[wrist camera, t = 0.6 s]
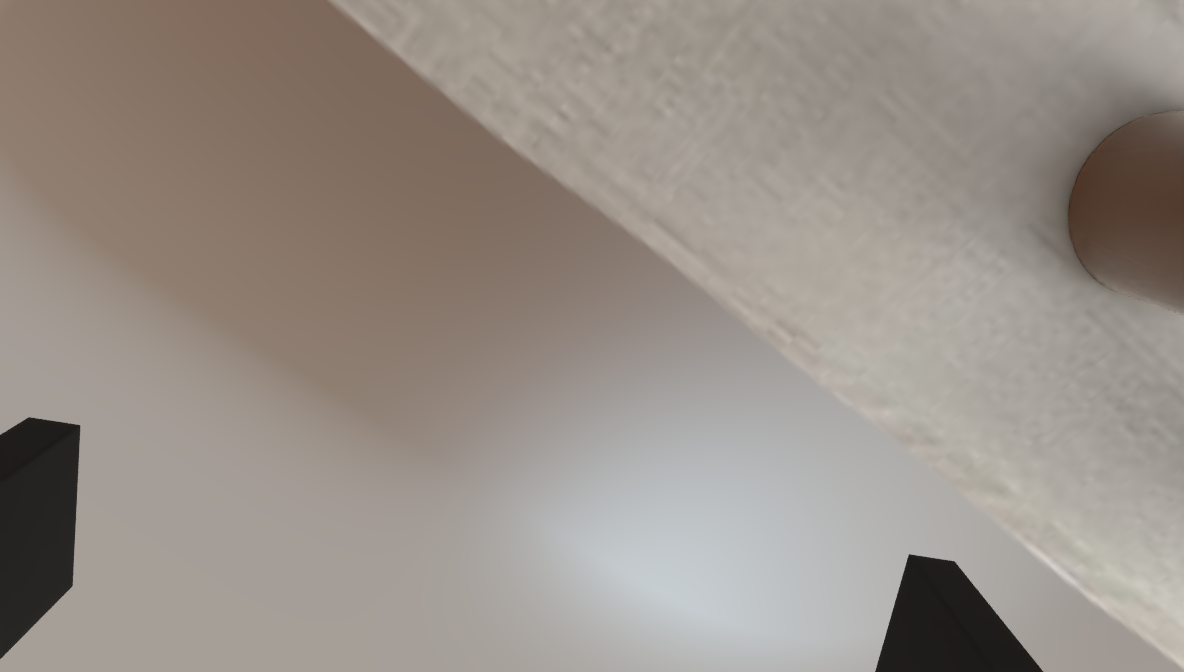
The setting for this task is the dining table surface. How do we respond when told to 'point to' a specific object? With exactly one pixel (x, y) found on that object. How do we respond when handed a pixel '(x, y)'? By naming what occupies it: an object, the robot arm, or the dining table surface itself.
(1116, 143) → the jar
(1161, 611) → the dining table surface
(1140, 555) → the dining table surface
